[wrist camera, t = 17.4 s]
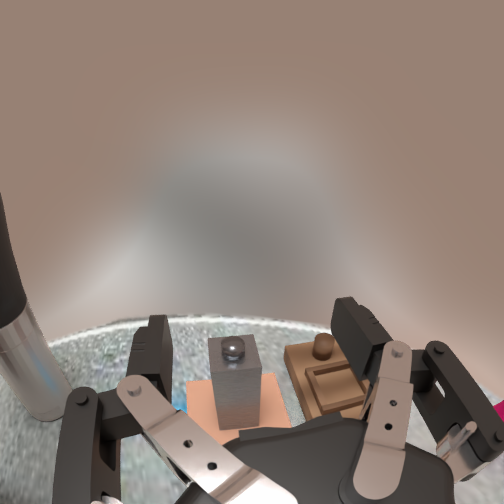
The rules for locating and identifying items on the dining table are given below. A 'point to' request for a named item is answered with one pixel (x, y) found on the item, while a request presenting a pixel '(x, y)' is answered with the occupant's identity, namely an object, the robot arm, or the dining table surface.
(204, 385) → the coaster
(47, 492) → the dining table surface
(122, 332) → the dining table surface
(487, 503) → the dining table surface
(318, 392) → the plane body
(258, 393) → the grey square grinder
